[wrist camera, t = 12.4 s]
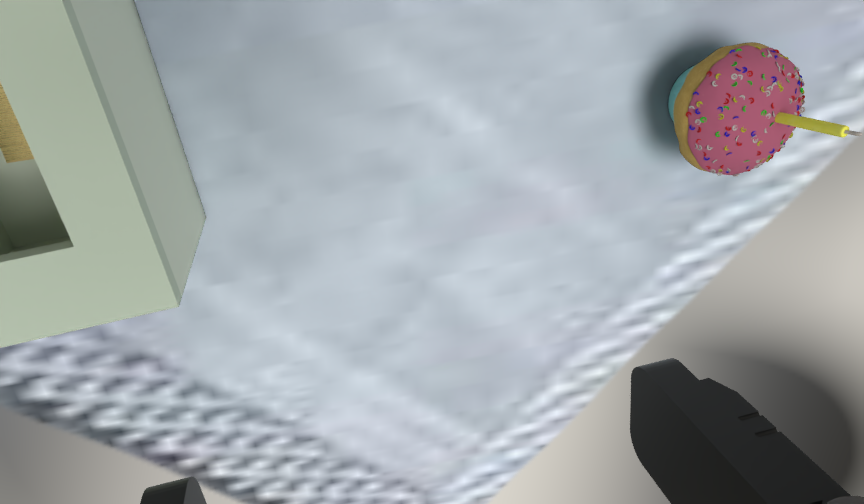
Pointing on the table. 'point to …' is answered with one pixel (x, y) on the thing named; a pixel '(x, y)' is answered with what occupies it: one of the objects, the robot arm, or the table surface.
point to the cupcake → (740, 109)
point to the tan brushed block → (11, 133)
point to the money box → (89, 173)
